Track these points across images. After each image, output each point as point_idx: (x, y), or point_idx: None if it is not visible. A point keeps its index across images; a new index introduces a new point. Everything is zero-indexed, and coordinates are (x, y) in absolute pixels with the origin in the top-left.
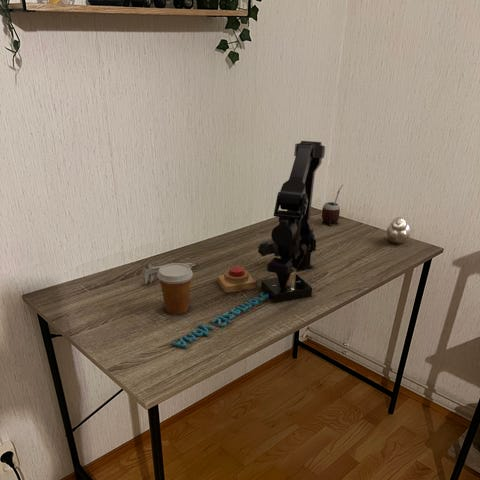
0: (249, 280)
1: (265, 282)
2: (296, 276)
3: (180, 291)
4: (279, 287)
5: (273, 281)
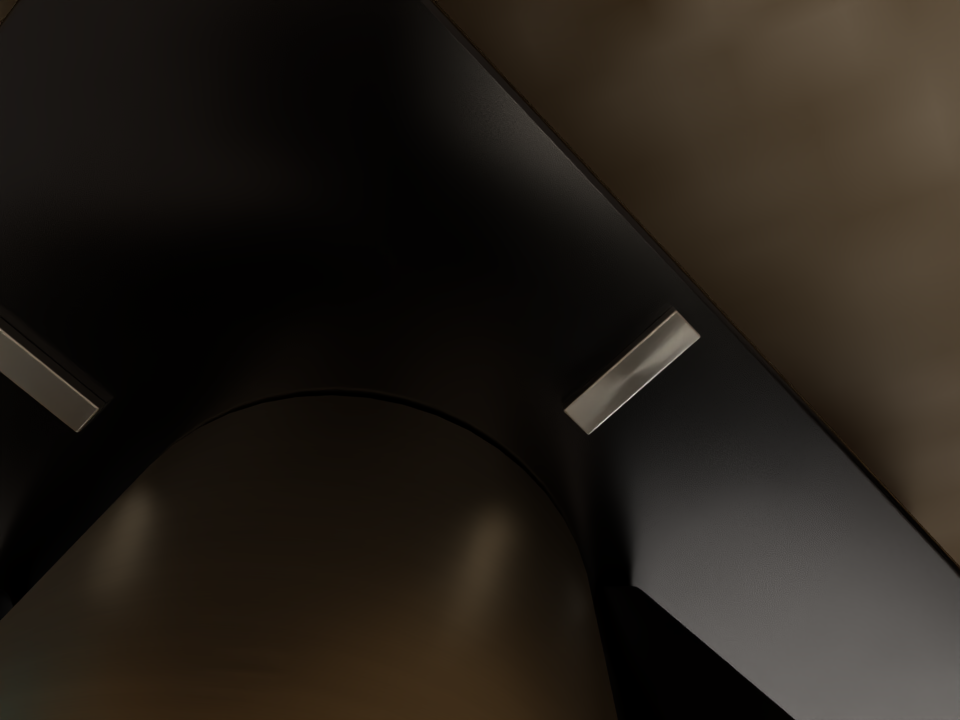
0: None
1: (98, 9)
2: (901, 716)
3: None
4: (33, 532)
5: (316, 241)
